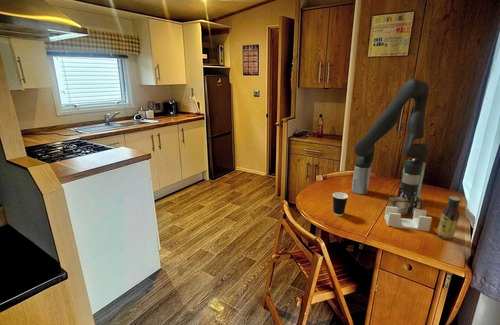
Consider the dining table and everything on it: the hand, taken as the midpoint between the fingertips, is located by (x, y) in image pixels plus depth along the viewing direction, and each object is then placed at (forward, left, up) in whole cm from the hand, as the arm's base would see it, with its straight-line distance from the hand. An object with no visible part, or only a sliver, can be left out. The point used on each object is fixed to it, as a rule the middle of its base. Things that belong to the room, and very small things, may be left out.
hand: (405, 209), depth 144 cm
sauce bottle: (+12, -19, -3) cm, 23 cm away
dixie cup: (-34, -8, -3) cm, 35 cm away
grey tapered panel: (0, 0, -3) cm, 3 cm away
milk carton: (+7, +21, -3) cm, 22 cm away
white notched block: (-2, -11, -3) cm, 12 cm away
